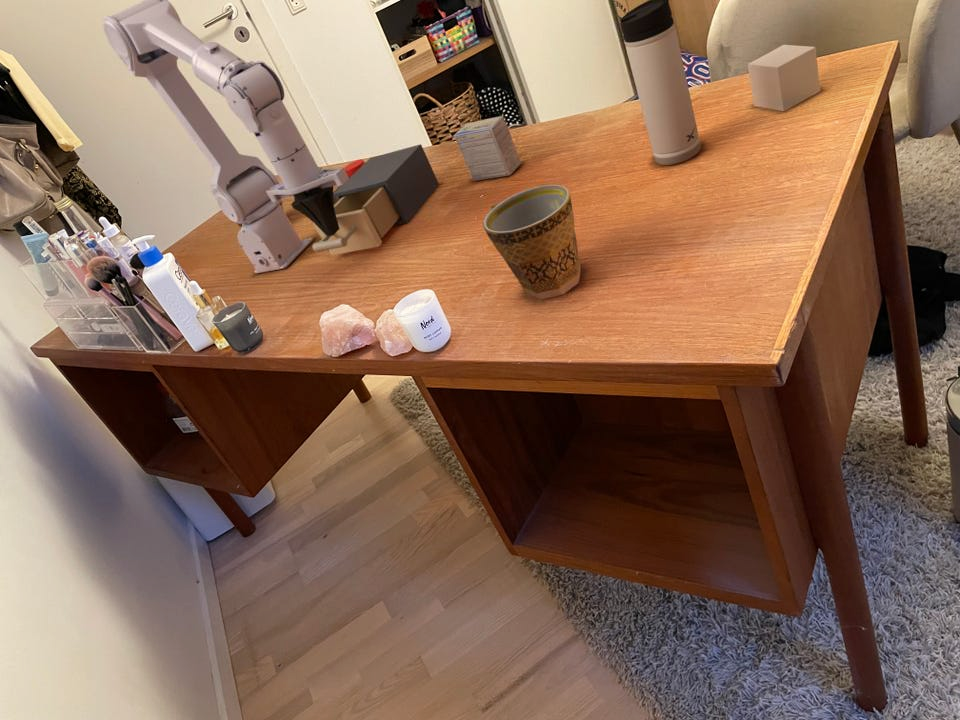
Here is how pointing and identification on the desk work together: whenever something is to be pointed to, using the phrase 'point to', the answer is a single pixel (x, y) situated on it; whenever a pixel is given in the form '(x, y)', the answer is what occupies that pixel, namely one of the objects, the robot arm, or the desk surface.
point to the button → (353, 167)
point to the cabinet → (396, 179)
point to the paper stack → (488, 148)
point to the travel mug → (661, 81)
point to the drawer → (360, 221)
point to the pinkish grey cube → (784, 77)
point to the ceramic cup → (537, 239)
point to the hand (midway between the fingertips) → (333, 232)
